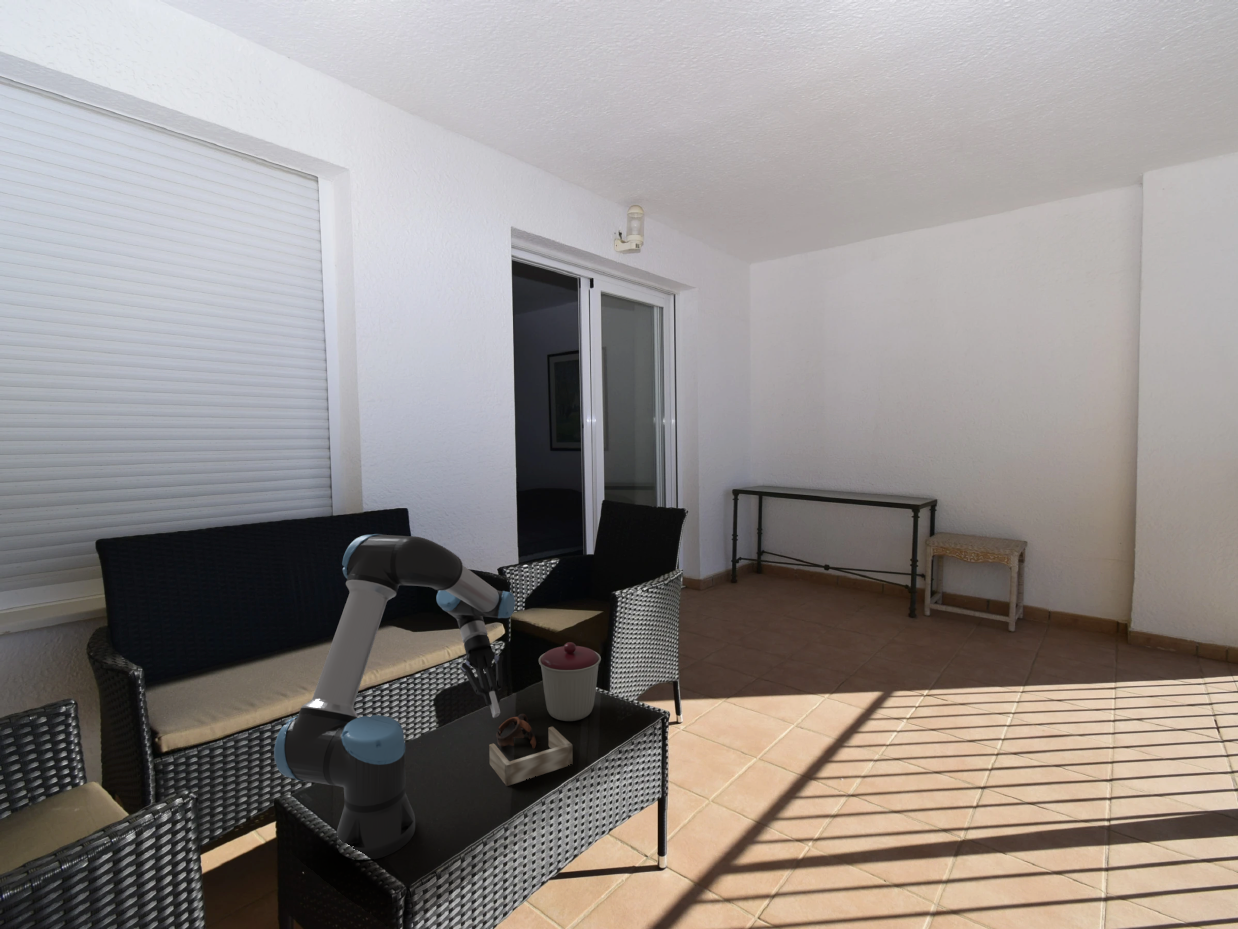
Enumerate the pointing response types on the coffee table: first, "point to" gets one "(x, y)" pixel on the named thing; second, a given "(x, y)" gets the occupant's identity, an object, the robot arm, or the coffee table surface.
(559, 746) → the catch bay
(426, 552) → the robot arm
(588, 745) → the coffee table surface
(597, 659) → the canister
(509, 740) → the pottery mug
